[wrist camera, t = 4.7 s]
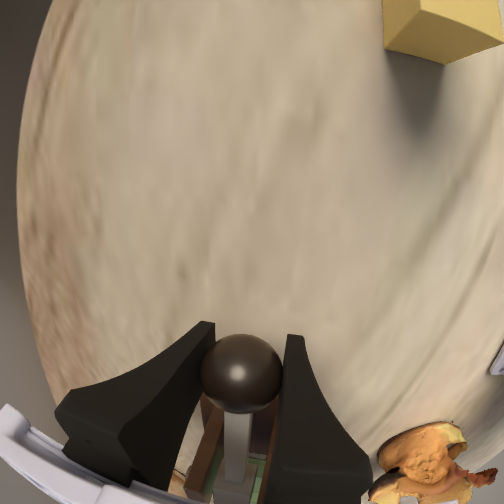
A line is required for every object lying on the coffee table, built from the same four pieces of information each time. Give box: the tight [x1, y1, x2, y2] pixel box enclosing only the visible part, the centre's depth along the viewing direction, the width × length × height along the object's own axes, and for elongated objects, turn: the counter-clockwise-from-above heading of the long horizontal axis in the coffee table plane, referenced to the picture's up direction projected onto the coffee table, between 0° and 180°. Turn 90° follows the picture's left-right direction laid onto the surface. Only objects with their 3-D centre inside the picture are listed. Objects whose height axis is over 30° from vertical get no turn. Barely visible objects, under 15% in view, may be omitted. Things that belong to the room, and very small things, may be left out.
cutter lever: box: [199, 334, 283, 504], centre depth 12 cm, size 13×3×3 cm, turn 178°
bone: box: [368, 421, 498, 504], centre depth 15 cm, size 12×10×8 cm
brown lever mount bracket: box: [183, 391, 279, 504], centre depth 16 cm, size 8×7×8 cm
